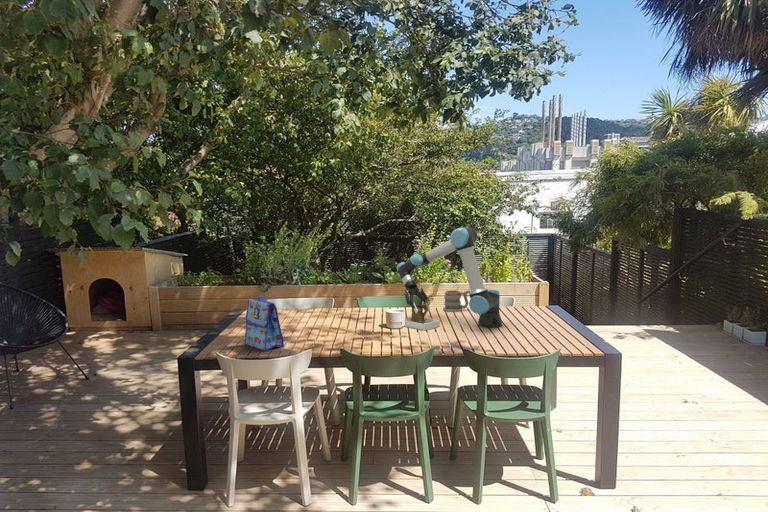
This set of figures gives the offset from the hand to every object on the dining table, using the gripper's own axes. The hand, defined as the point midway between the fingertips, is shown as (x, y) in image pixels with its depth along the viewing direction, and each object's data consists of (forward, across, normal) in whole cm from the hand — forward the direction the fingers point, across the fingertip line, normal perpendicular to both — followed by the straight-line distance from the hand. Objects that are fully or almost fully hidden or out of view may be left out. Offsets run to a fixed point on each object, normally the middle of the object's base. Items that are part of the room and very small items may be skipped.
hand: (423, 311), depth 341 cm
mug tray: (+5, 0, -10) cm, 11 cm away
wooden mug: (+4, 0, -8) cm, 9 cm away
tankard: (-14, -48, -28) cm, 58 cm away
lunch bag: (-1, +99, -16) cm, 100 cm away
